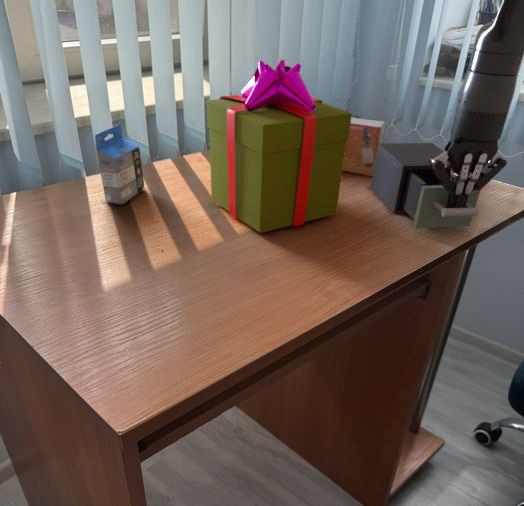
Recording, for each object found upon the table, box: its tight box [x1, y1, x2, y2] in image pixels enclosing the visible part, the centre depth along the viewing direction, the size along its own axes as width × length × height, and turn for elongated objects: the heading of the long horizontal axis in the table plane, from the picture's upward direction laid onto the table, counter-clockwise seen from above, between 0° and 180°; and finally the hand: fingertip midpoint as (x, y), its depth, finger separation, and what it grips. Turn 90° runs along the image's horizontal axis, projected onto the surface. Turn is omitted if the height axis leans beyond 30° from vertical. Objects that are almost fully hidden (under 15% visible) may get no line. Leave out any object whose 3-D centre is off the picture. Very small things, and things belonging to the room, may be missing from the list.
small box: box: [342, 117, 386, 177], centre depth 115 cm, size 8×6×10 cm
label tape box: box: [94, 123, 146, 205], centre depth 98 cm, size 9×4×12 cm, turn 162°
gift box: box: [206, 59, 353, 234], centre depth 91 cm, size 21×21×25 cm
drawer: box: [399, 169, 481, 229], centre depth 94 cm, size 17×10×7 cm, turn 9°
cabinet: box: [370, 142, 451, 215], centre depth 103 cm, size 14×12×9 cm
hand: (453, 213), depth 89 cm, fingers closed
